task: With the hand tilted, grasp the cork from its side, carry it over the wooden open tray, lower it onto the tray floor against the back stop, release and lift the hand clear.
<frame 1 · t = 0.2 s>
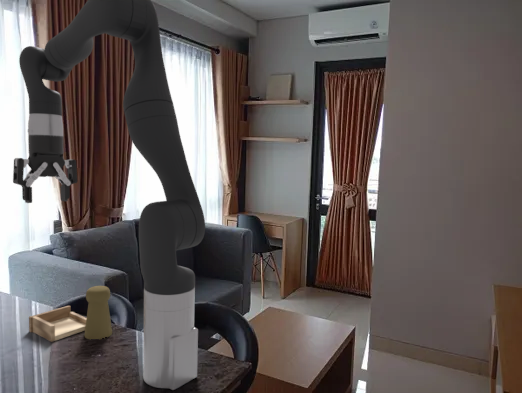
hand: (47, 201, 104), 29 cm above the countertop, tool pointing down, fingers open, 8 cm apart
wooden open tray: (62, 330, 100), on the countertop
cork: (98, 334, 98), on the countertop
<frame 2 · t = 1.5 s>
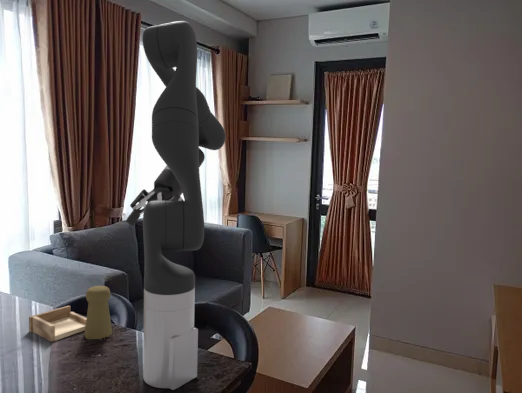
hand: (139, 226, 105), 23 cm above the countertop, tool tilted 45°, fingers open, 8 cm apart
nothing on the countertop moved.
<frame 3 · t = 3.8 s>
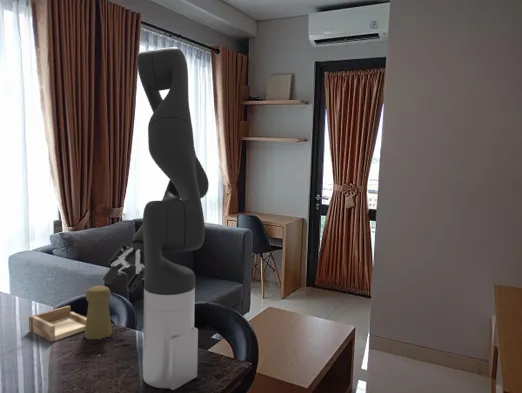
hand: (116, 286, 101), 10 cm above the countertop, tool tilted 45°, fingers open, 8 cm apart
nothing on the countertop moved.
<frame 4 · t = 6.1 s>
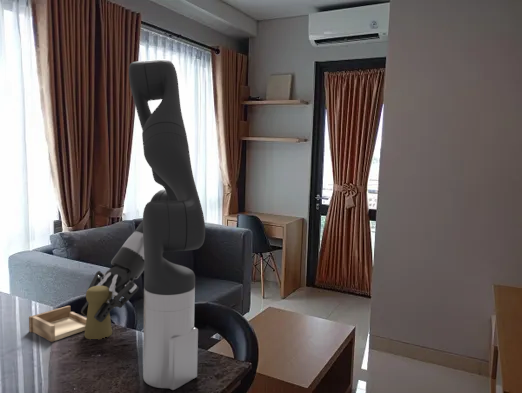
hand: (90, 316, 96), 5 cm above the countertop, tool tilted 45°, fingers closed on cork, 4 cm apart
cork: (98, 334, 98), on the countertop, touching gripper
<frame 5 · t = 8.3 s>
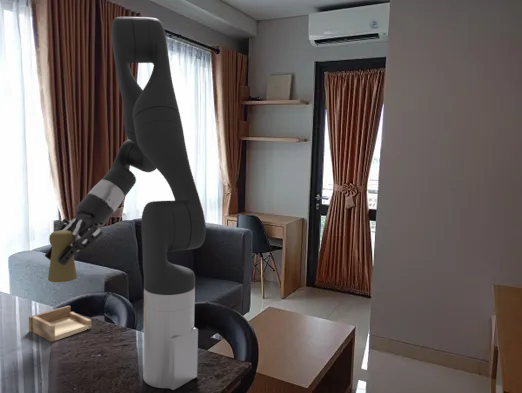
hand: (54, 260, 97), 17 cm above the countertop, tool tilted 45°, fingers closed on cork, 4 cm apart
cork: (62, 279, 99), point 12 cm above the countertop, touching gripper
when the fingers open (6 cm above the countertop, at t = 11.0 s): cork moves 2 cm, resting on wooden open tray.
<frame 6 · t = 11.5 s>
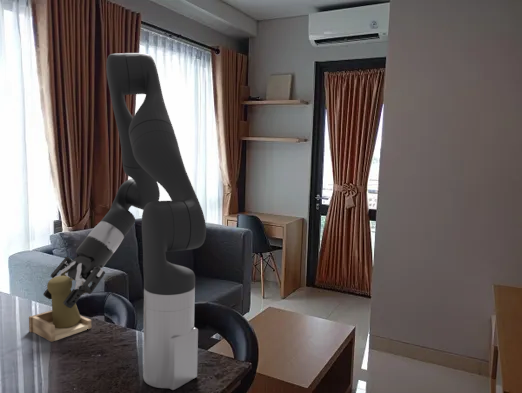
hand: (56, 301, 98), 7 cm above the countertop, tool tilted 45°, fingers open, 8 cm apart
cork: (67, 322, 101), point 1 cm above the countertop, touching wooden open tray
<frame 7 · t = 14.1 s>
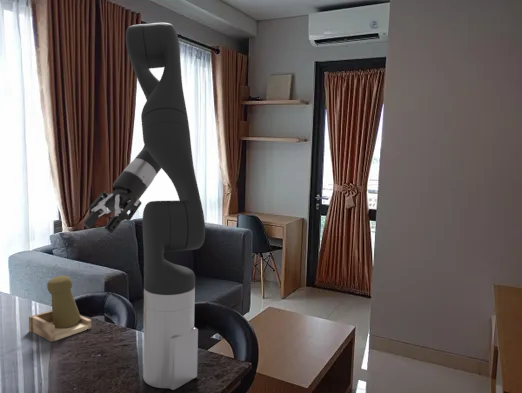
hand: (96, 228, 105), 23 cm above the countertop, tool tilted 45°, fingers open, 8 cm apart
nothing on the countertop moved.
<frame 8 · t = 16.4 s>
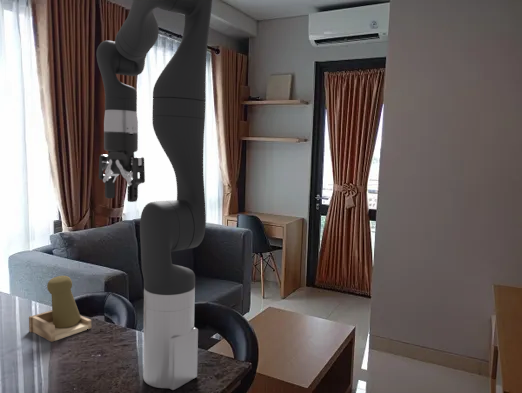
hand: (120, 199, 102), 30 cm above the countertop, tool pointing down, fingers open, 8 cm apart
nothing on the countertop moved.
at the end: cork 1.6 cm off-centre on the wooden open tray, point 1.3 cm above the wooden open tray's base; cork tilted 10°; the gripper is holding nothing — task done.
